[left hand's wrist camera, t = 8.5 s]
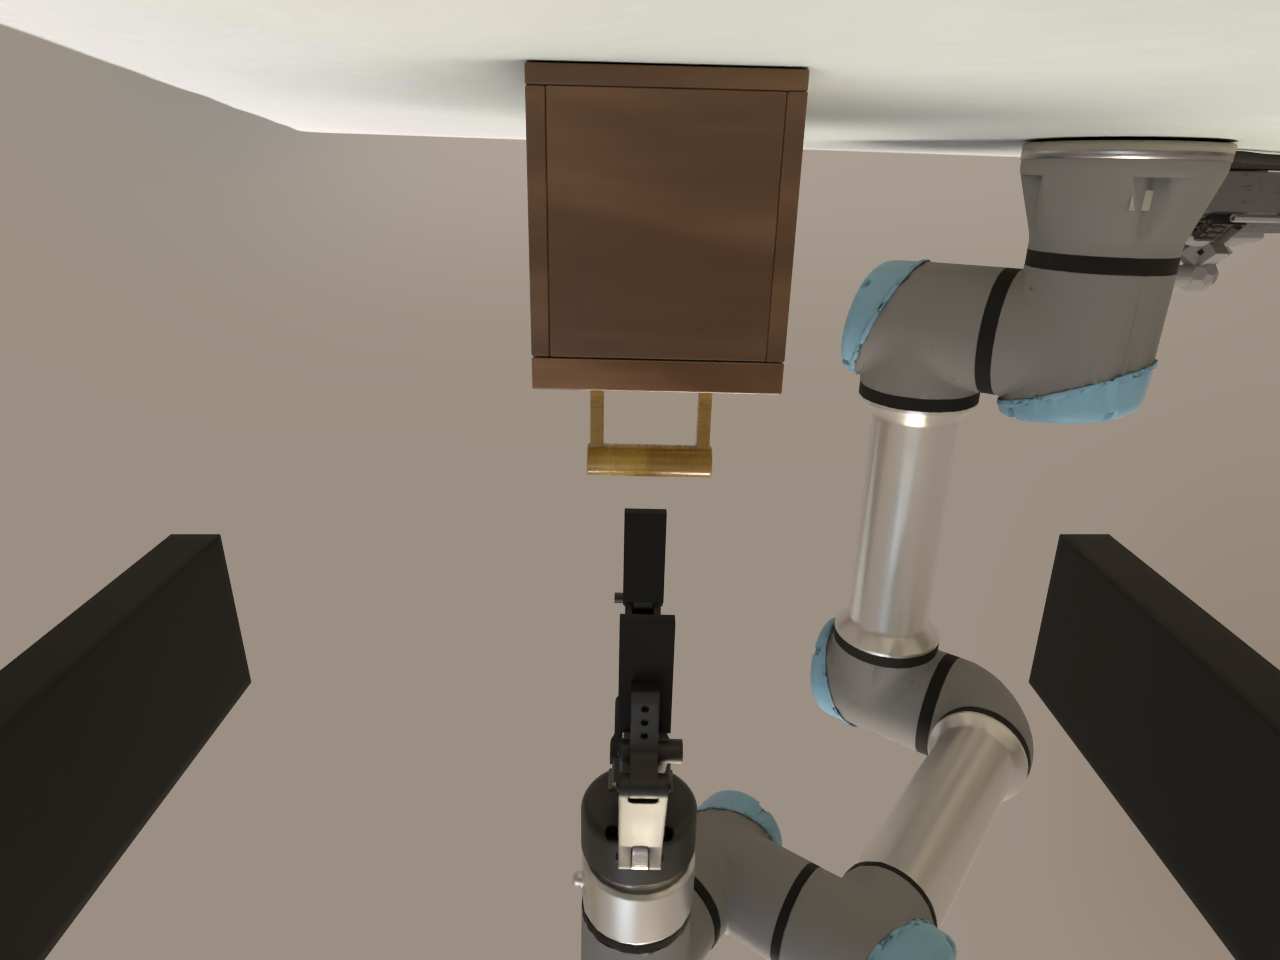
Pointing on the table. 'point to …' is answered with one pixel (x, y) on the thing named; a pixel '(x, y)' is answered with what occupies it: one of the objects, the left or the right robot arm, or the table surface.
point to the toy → (1231, 222)
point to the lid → (654, 378)
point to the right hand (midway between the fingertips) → (646, 556)
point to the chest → (662, 209)
